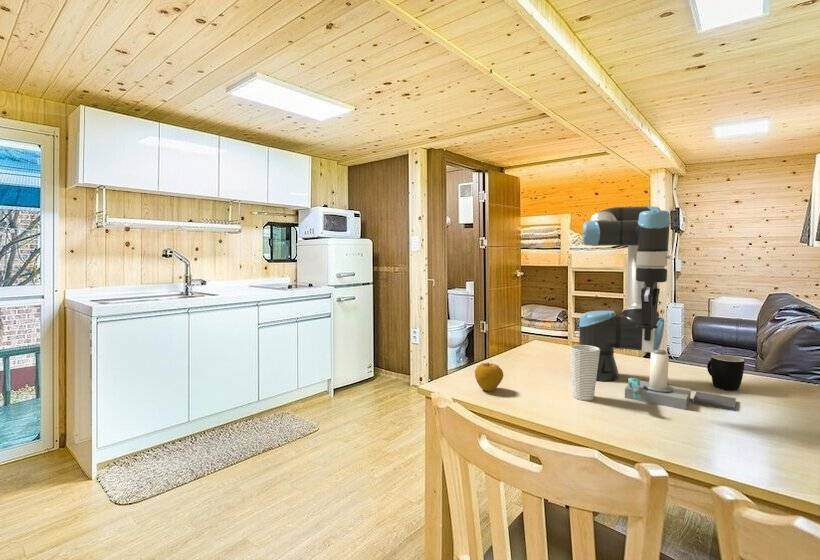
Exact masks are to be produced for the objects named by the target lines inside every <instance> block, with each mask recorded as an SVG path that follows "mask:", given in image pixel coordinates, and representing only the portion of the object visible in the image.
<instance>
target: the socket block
mask: <svg viewBox="0 0 820 560" xmlns="http://www.w3.org/2000/svg"><path fill="white" fill-rule="evenodd" d="M644 383H649V381H647V380H646V381H645V380H641V379H640V386H638V387H639V388H640V389H642V390H641V394H640V400H638V399H634V395H633V390H632V385H629V384H628V383H627V386H625V387H624V398H625V399H628V400H635V401H640V402H644V403H650V404H655V405H660V406H665V407H671V408H674V409H680V410H685V411H686V410H687V408H688V406H689V403H690V400H691V395H692V388H687V387H681V386H674V385H670V384H669V386H671V387H672V388H673V391H672V392H667V393H663V392H657V391H652V390H648V389H646V388H644V387H643V384H644Z"/></svg>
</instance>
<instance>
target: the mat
mask: <svg viewBox="0 0 820 560" xmlns="http://www.w3.org/2000/svg"><path fill="white" fill-rule="evenodd" d="M736 400H737V398H736V397H733V396H732V397H731V396H725V395H720V394H715V393H714V394H713V393H709V392H708V393H707V392H704V391H703V392H702V391H695V395H694V396H693V398H692V404H696V405H702V406H706V407H707V406H708V407H713V408H718V409H723V410H729V411H734V412H735V411H736V410H735V409H736Z"/></svg>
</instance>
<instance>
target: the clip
mask: <svg viewBox="0 0 820 560" xmlns="http://www.w3.org/2000/svg"><path fill="white" fill-rule="evenodd" d="M640 380H641V379H639V378H637V377H629V378H628V379H627V381H628V382H627V385H628V384H629V385H632V390H633V395H634V399H638V400H637V401H639V400H640V394H641V390H642V389H640V388H639V387H638V386H640ZM634 399H633V400H634Z"/></svg>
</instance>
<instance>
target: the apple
mask: <svg viewBox="0 0 820 560" xmlns="http://www.w3.org/2000/svg"><path fill="white" fill-rule="evenodd" d="M474 377H475V380H476V383H477V385H478V386H479V387H480V388H481V390H483V391H485V392H493V391H494V390H496V389H497V387H498V386H499V385H500V384H501V382H502V381H503V379H504V371H503V369H502V368H501V367H500V365H498V364H496V363H493V362H492V363H490V362H482V363H480V364H478V365H477V366H476V367H475V370H474Z"/></svg>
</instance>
